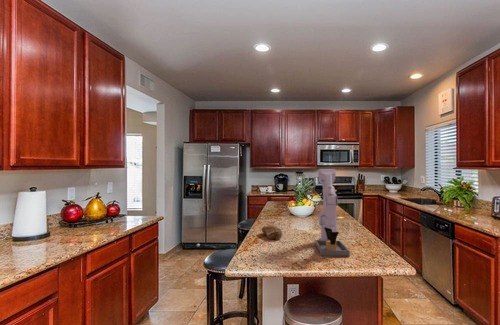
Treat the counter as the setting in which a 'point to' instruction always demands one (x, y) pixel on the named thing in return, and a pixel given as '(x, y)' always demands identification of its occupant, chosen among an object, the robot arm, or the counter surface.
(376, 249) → the counter surface
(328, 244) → the ochre block
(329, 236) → the robot arm
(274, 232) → the brown rounded lump
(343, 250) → the charcoal tray
